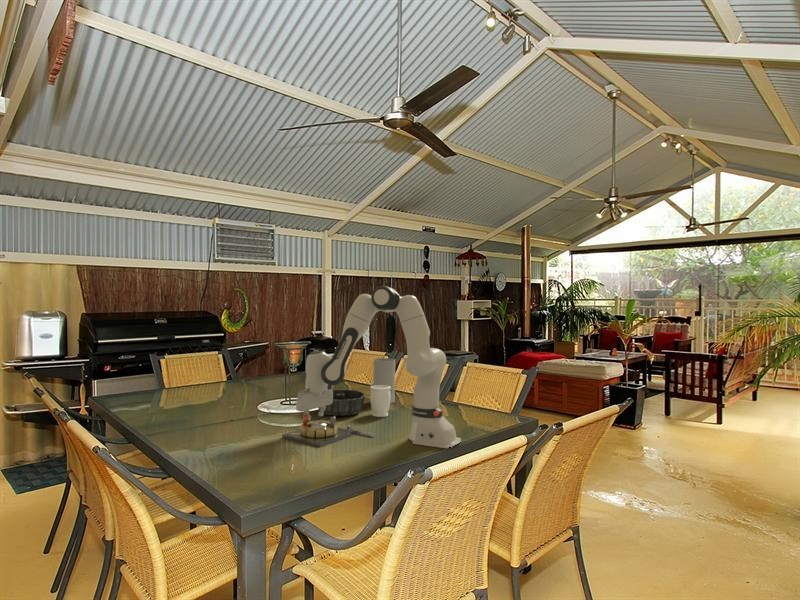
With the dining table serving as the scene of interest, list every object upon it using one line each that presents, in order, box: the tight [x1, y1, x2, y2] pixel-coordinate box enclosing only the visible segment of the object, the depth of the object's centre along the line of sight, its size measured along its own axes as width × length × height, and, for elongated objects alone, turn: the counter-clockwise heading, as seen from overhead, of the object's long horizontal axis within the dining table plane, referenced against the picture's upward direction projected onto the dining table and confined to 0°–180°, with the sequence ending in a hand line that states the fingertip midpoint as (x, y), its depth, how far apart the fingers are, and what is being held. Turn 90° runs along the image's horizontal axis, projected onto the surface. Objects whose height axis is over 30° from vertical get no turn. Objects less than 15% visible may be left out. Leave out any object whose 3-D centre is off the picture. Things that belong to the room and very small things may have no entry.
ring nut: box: [299, 413, 339, 438], centre depth 208 cm, size 16×16×7 cm
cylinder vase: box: [372, 357, 396, 405], centre depth 277 cm, size 12×12×25 cm
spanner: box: [345, 424, 376, 438], centre depth 213 cm, size 16×3×3 cm, turn 57°
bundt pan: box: [317, 388, 367, 417], centre depth 251 cm, size 26×26×10 cm
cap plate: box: [281, 422, 355, 448], centre depth 208 cm, size 22×22×6 cm
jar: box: [369, 385, 391, 418], centre depth 247 cm, size 11×10×15 cm
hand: (314, 417), depth 215 cm, fingers open, 7 cm apart
